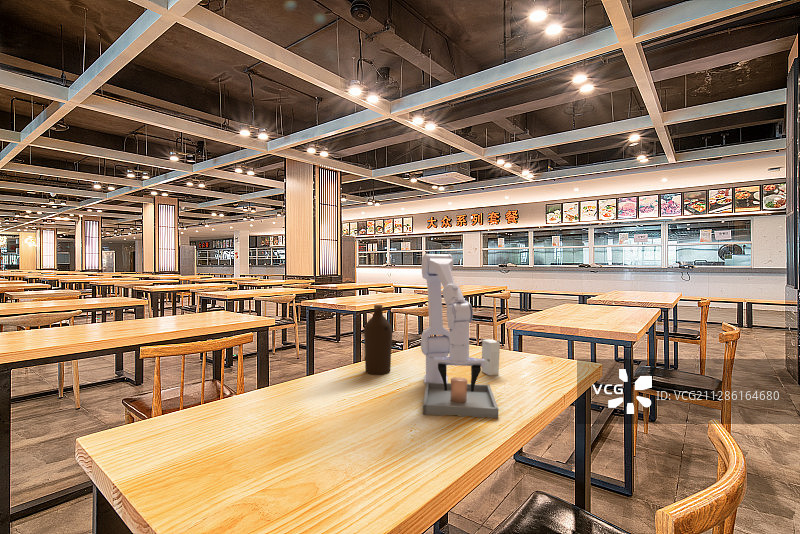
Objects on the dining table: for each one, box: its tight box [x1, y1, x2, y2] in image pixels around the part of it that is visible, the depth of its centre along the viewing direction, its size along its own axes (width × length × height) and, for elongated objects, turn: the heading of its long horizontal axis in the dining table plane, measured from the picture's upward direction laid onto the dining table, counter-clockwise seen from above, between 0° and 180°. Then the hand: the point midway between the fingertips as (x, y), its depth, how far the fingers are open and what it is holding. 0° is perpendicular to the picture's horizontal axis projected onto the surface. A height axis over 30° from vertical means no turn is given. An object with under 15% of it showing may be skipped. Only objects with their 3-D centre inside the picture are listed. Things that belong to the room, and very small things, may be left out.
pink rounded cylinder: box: [450, 376, 468, 403], centre depth 113 cm, size 5×5×6 cm
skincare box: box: [480, 338, 501, 376], centre depth 144 cm, size 6×4×12 cm
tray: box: [422, 382, 499, 419], centre depth 114 cm, size 20×20×2 cm
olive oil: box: [363, 304, 393, 376], centre depth 145 cm, size 11×11×25 cm
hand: (458, 390), depth 114 cm, fingers open, 7 cm apart
